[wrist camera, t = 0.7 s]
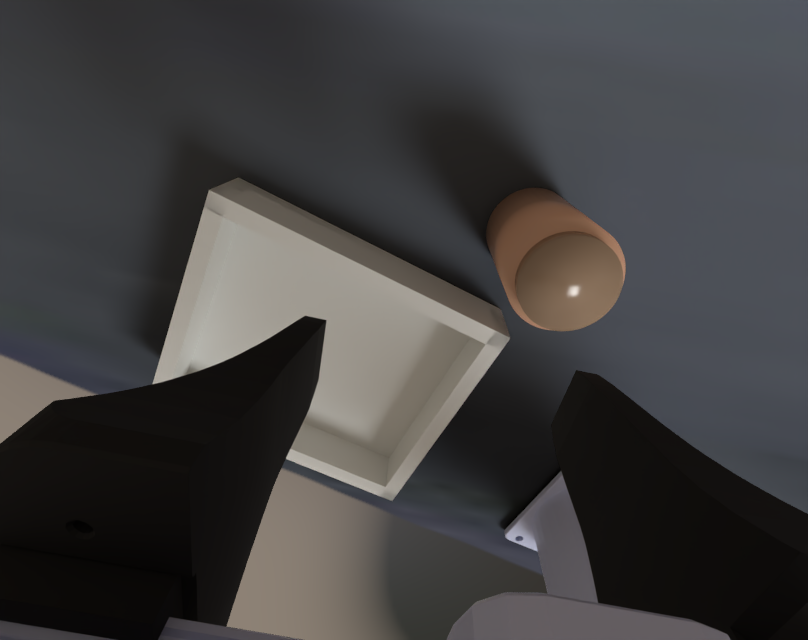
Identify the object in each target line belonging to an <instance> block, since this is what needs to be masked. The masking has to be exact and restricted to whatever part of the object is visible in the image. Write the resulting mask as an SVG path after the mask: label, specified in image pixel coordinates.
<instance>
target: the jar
mask: <svg viewBox="0 0 808 640" xmlns="http://www.w3.org/2000/svg"><path fill="white" fill-rule="evenodd" d="M486 240H487V245H488V248H489V251H490V253H491V256H492V258H493V261H494V263H495V266H496V269H497V271H498V274H499V276H500V279H501V281H502V284H503V286H504V289H505V292H506V294H507V297H508V299H509V302H510V304H511V306H512V308H513V309H514V310H515V312H516V313H517V314H518V315H519V316H520V317H521V318H522V319H523V320H525V321H526V322H528V323H529V324H531V325H533V326H536V327H538V328H542V329H546V330H555V331H571V330H577V329H580V328H584V327H586V326H588V325H591V324H592V323H594V322H596V321H597V320H599V319H600V318H602V317H603V316H604V315H605V314H606V313H607V312H608V311H609V310H610V309H611V308H612V307H613V305H614V304H615V302H616V301H617V299H618V297H619V294H620V292H621V289H622V286H623V282H624V279H625V271H626V269H625V259H624V255H623V252H622V250H621V248H620V246H619V244H618V243H617V241H616V240H615V239H614V238H613V237H612V236H611V235H610V234H609V233H608V232H606V231H605V230H604V229H603V228H601V227H600V226H599V225H597V224H596V223H595V222H593V221H592V220H591V219H589V218H588V217H587V216H585V215H584V214H583V213H582V212H580V211H579V210H578V209H576V208H575V207H574V206H572V205H571V204H570V203H568V202H567V201H566V200H565V199H563V198H562V197H561V196H559V195H558V194H556V193H555V192H553V191H550V190H547V189H544V188H526V189H522V190H519V191H516V192H514V193H512V194H510V195H509V196H507V197H506V198H504V199H503V200H502V201H501V202H500V203H499V204H498V205H497V206H496V208H495V209H494V210H493V212H492V214H491V216H490V218H489V221H488V224H487V229H486Z"/></svg>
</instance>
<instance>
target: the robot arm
mask: <svg viewBox="0 0 808 640" xmlns="http://www.w3.org/2000/svg"><path fill="white" fill-rule="evenodd" d="M326 321H327V320H324V319H319V318H314V317H309V316H304V317H302V318H300V319H299V320H297V321H295V322H294V323H292V324H291V325H289V326H288V327H286V328H285V329H283V330H281V331H280V332H278V333H277V334H275V335H273V336H272V337H270V338H268V339H267V340H265V341H263V342H262V343H260V344H258V345H256V346H254V347H252V348H250V349H248V350H246V351H244V352H242V353H241V354H239V355H237V356H234V357H232V358H230V359H228V360H225V361H223V362H221V363H218V364H216V365H213V366H211V367H208V368H205V369H203V370H200V371H197V372H194V373H190V374H187V375H184V376H180V377H177V378H174V379H171V380H167V381H164V382H160V383H156V384H152V385H148V386H143V387H139V388H134V389H129V390H124V391H119V392H113V393H108V394H101V395H94V396H87V397H80V398H73V399H65V400H57V401H53V402H52V403H51V404H50V405H48V406H47V407H45V408H44V409H43V410H42V411H40V412H39V413H38V414H37V415H35V416H34V417H33V418H32V419H30V420H29V421H28V422H27V423H26V424H24V425H23V426H22V427H21V428H19V429H18V430H17V431H16V432H14V433H13V434H12V435H11V436H9V437H8V438H7V439H6V440H5V441H3V442H2V443H1V444H0V640H302V639H296V638H290V637H284V636H279V635H273V634H267V633H261V632H255V631H249V630H243V629H237V628H231V627H226V626H227V622H228V619H229V616H230V613H231V610H232V606H233V603H234V601H235V598H236V594H237V591H238V588H239V585H240V582H241V579H242V576H243V573H244V570H245V567H246V563H247V561H248V558H249V555H250V552H251V548H252V546H253V543H254V540H255V537H256V534H257V531H258V528H259V525H260V523H261V519H262V517H263V514H264V511H265V508H266V505H267V503H268V500H269V497H270V494H271V491H272V489H273V486H274V484H275V481H276V479H277V477H278V474H279V472H280V470H281V468H282V466H283V463H284V461H285V459H286V457H287V455H288V453H289V451H290V449H291V447H292V445H293V442H294V440H295V438H296V436H297V434H298V432H299V430H300V428H301V426H302V423H303V421H304V419H305V417H306V415H307V413H308V411H309V408H310V405H311V402H312V399H313V396H314V393H315V390H316V387H317V383H318V380H319V373H320V366H321V358H322V351H323V343H324V336H325V328H326ZM551 428H552V435H553V441H554V446H555V451H556V456H557V460H558V463H559V466H560V469H561V471H560V472H559V473H558V474H557V476H556V477H555V478H554V479H553V480H552V481H551V482H550V483H549V484H548V485H547V486H546V487H545V488H544V489H543V490H542V491H541V492H540V493H539V494H538V495H537V497H536V498H535V499H534V500H533V501H532V502H531V503H530V504H529V505H528V506H527V507H526V508H525V509H524V510H523V511H522V512H521V513H520V514H519V515H518V516H517V518H516V519H515V520H514V521H513V522H512V523H511V524H510V525H509V526H508V527H507V528H506V529H505V537H506V538H507V539H508V540H510V541H513V542H515V543H518V544H520V545H523V546H525V547H528V548H530V549H533V550H535V551H538V554H539V558H540V563H541V567H542V571H543V575H544V579H545V584H546V587H547V592H548V594H545V593H528V592H526V593H525V592H522V593H521V592H505V593H502V594H499V595H496V596H493V597H490V598H487V599H484V600H481V601H477V602H476V603H475V604H473V606H472V607H471V608H470V609H468V610H467V612H465V613H464V614H463V616H461V617H460V618H459V619H458V621H457V622H456V623H454V625H453V627H452V629H451V631H450V634H449V636H448V638H447V640H808V514H807V513H805V512H803V511H801V510H799V509H797V508H795V507H793V506H791V505H789V504H787V503H785V502H783V501H781V500H780V499H778V498H776V497H774V496H772V495H771V494H769V493H767V492H765V491H763V490H762V489H760V488H758V487H756V486H754V485H753V484H751V483H749V482H748V481H746V480H744V479H742V478H741V477H739V476H737V475H736V474H734V473H732V472H731V471H729V470H728V469H726V468H725V467H723V466H722V465H720V464H718V463H717V462H715V461H714V460H712V459H711V458H709V457H707V456H706V455H704V454H703V453H702V452H700V451H699V450H697V449H696V448H694V447H693V446H691V445H690V444H689V443H687V442H686V441H685V440H683V439H682V438H680V437H679V436H678V435H676V434H675V433H674V432H672V431H671V430H670V429H668V428H667V427H666V426H664V425H663V424H662V423H660V422H659V421H658V420H657V419H655V418H654V417H653V416H651V415H650V414H649V413H648V412H646V411H645V410H644V409H643V408H641V407H640V406H639V405H638V404H636V403H635V402H634V401H633V400H631V399H630V398H629V397H628V396H626V395H625V394H624V393H622V392H621V391H620V390H619V389H617V388H616V387H615V386H613V385H612V384H611V383H609V382H608V381H606V380H605V379H604V378H602V377H600V376H599V375H597V374H592V373H587V372H582V371H577V370H576V372H575V374H574V376H573V378H572V381H571V383H570V385H569V387H568V389H567V392H566V394H565V396H564V398H563V400H562V402H561V405H560V407H559V409H558V411H557V413H556V416H555V418H554V420H553V422H552V424H551Z"/></svg>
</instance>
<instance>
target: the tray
mask: <svg viewBox="0 0 808 640" xmlns="http://www.w3.org/2000/svg"><path fill="white" fill-rule="evenodd" d="M304 316H309V317H314V318H319V319H324V320H327V321H326V328H325V336H324V343H323V351H322V358H321V366H320V373H319V380H318V383H317V387H316V390H315V393H314V396H313V399H312V402H311V405H310V408H309V411H308V413H307V415H306V417H305V419H304V421H303V423H302V426H301V428H300V430H299V432H298V434H297V436H296V438H295V440H294V442H293V445H292V447H291V449H290V451H289V453H288V455H287V457H286V459H288V460H290V461H293V462H295V463H298V464H300V465H303V466H305V467H308V468H310V469H313V470H315V471H318V472H320V473H323V474H325V475H328V476H330V477H333V478H335V479H338V480H340V481H343V482H346V483H348V484H351V485H353V486H356V487H358V488H361V489H363V490H366V491H368V492H371V493H373V494H376V495H378V496H381V497H383V498H386V499H388V500H391V501H393V499H394V498H395V496H396V495H397V494H398V492H399V491H400V490H401V488H402V487H403V485H404V484H405V483H406V481H407V480H408V479H409V477H410V476H411V474H412V473H413V472H414V470H415V469H416V468H417V466H418V465H419V463H420V462H421V461H422V459H423V458H424V457H425V455H426V454H427V452H428V451H429V450H430V448H431V447H432V446H433V444H434V443H435V441H436V440H437V439H438V437H439V436H440V435H441V433H442V432H443V430H444V429H445V428H446V426H447V425H448V424H449V422H450V421H451V419H452V418H453V417H454V415H455V414H456V413H457V411H458V410H459V408H460V407H461V406H462V404H463V403H464V402H465V400H466V399H467V397H468V396H469V395H470V393H471V392H472V391H473V389H474V388H475V386H476V385H477V384H478V382H479V381H480V380H481V378H482V377H483V375H484V374H485V373H486V371H487V370H488V369H489V367H490V366H491V364H492V363H493V362H494V360H495V359H496V358H497V356H498V355H499V353H500V352H501V351H502V349H503V348H504V347H505V345H506V344H507V342H508V341H509V340H510V335H509V332H508V329H507V326H506V323H505V320H504V317H503V314H502V311H501V309H499V308H497V307H495V306H493V305H491V304H489V303H487V302H486V301H484V300H482V299H480V298H478V297H476V296H474V295H472V294H470V293H468V292H466V291H464V290H462V289H460V288H458V287H456V286H454V285H452V284H450V283H448V282H446V281H444V280H442V279H440V278H438V277H436V276H434V275H432V274H430V273H428V272H426V271H424V270H422V269H420V268H418V267H416V266H414V265H412V264H410V263H408V262H406V261H404V260H402V259H400V258H398V257H396V256H394V255H392V254H390V253H388V252H386V251H384V250H382V249H380V248H378V247H376V246H374V245H372V244H370V243H368V242H366V241H364V240H362V239H360V238H358V237H356V236H354V235H352V234H350V233H348V232H346V231H344V230H342V229H340V228H338V227H336V226H334V225H332V224H330V223H328V222H326V221H324V220H322V219H320V218H318V217H316V216H314V215H312V214H310V213H309V212H307V211H305V210H303V209H301V208H299V207H297V206H295V205H293V204H291V203H289V202H287V201H285V200H283V199H281V198H279V197H277V196H275V195H273V194H271V193H269V192H267V191H265V190H263V189H261V188H259V187H257V186H255V185H253V184H251V183H249V182H247V181H245V180H243V179H241V178H239V177H238V178H236V179H233V180H231V181H229V182H226V183H224V184H222V185H219V186H217V187H214V188H212V189H210V190H209V192H208V195H207V199H206V202H205V205H204V209H203V212H202V216H201V219H200V223H199V226H198V230H197V233H196V236H195V240H194V243H193V247H192V250H191V254H190V257H189V261H188V264H187V267H186V271H185V274H184V278H183V281H182V285H181V288H180V292H179V295H178V298H177V302H176V305H175V309H174V312H173V316H172V319H171V323H170V326H169V329H168V333H167V336H166V340H165V343H164V347H163V350H162V354H161V357H160V360H159V364H158V367H157V371H156V374H155V378H154V381H153V384H156V383H160V382H164V381H167V380H171V379H174V378H177V377H180V376H184V375H187V374H190V373H194V372H197V371H200V370H203V369H205V368H208V367H211V366H213V365H216V364H218V363H221V362H223V361H225V360H228V359H230V358H232V357H234V356H237V355H239V354H241V353H242V352H244V351H246V350H248V349H250V348H252V347H254V346H256V345H258V344H260V343H262V342H263V341H265V340H267V339H268V338H270V337H272V336H273V335H275V334H277V333H278V332H280V331H281V330H283V329H285V328H286V327H288V326H289V325H291V324H292V323H294V322H295V321H297V320H299V319H300V318H302V317H304Z"/></svg>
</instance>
